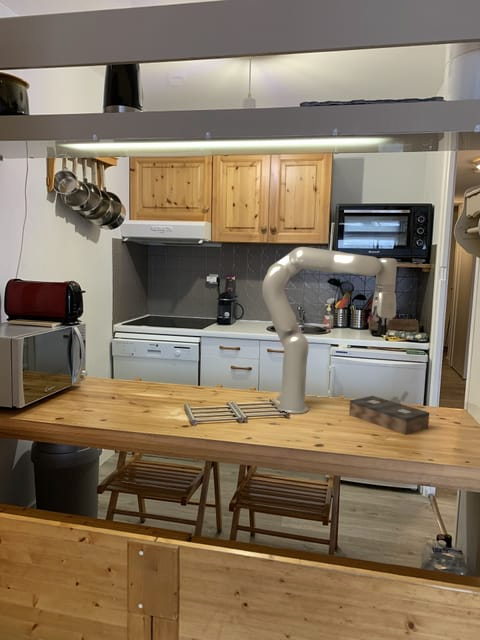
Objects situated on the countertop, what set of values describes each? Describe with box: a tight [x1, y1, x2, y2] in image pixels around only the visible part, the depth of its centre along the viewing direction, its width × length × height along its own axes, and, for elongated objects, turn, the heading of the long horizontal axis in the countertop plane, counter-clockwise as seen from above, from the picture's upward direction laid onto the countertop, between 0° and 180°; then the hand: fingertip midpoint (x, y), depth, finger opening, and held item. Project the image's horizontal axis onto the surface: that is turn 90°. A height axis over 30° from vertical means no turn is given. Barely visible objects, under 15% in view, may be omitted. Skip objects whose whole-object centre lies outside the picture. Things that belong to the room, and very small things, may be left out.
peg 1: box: [366, 400, 381, 404], centre depth 192 cm, size 4×4×6 cm
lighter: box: [389, 390, 410, 404], centre depth 203 cm, size 7×2×8 cm, turn 78°
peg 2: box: [397, 409, 411, 414], centre depth 181 cm, size 4×4×6 cm
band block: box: [348, 395, 430, 436], centre depth 186 cm, size 26×14×6 cm, turn 36°
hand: (381, 334), depth 194 cm, fingers closed
